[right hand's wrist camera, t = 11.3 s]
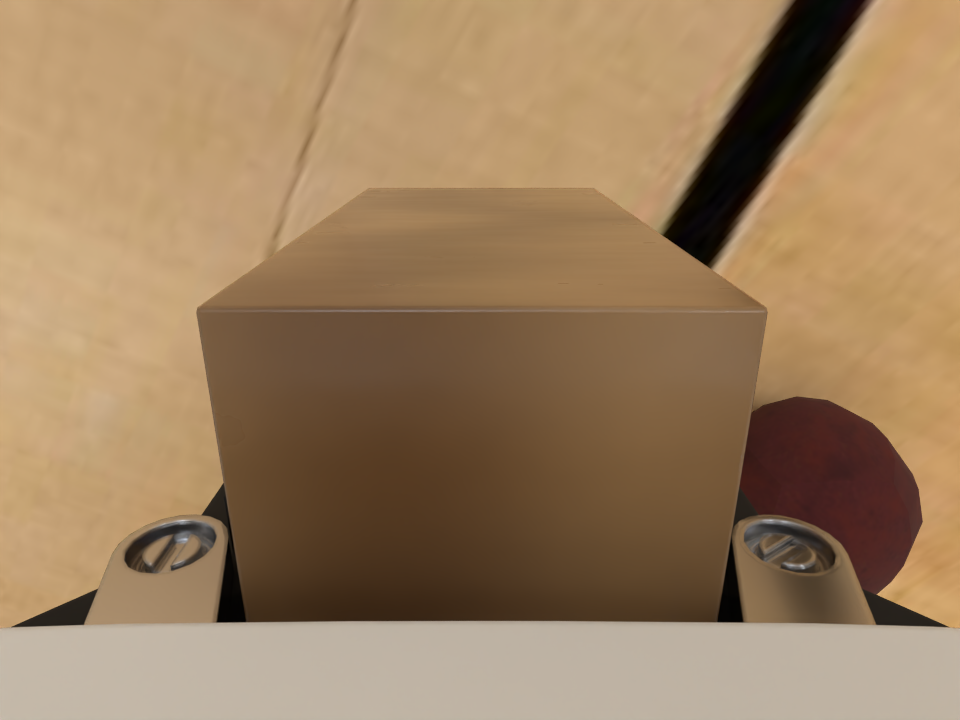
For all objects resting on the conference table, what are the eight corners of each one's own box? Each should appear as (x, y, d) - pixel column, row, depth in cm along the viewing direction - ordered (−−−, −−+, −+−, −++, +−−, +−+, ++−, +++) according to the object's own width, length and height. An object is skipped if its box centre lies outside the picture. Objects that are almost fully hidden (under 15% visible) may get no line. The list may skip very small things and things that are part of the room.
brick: (595, 188, 14) (771, 306, 5) (573, 542, 17) (664, 962, 9) (367, 187, 14) (191, 306, 5) (388, 542, 17) (299, 961, 9)
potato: (675, 538, 29) (732, 665, 22) (679, 376, 26) (746, 467, 20) (845, 526, 29) (953, 651, 22) (867, 362, 26) (998, 449, 19)
